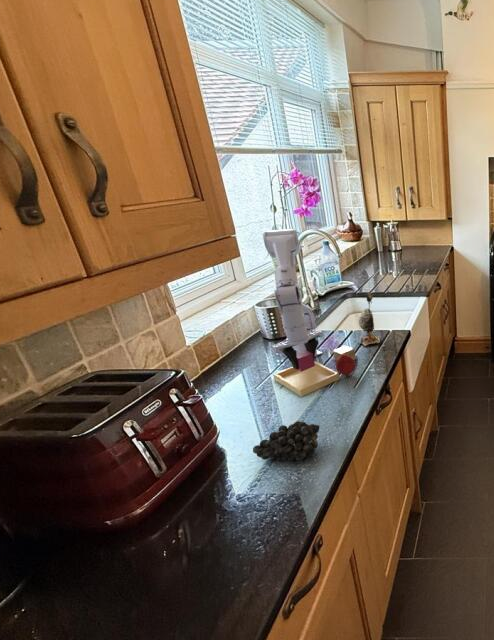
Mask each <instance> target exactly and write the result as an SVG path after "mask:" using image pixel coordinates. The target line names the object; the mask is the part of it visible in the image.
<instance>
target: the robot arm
mask: <svg viewBox="0 0 494 640" xmlns="http://www.w3.org/2000/svg"><path fill="white" fill-rule="evenodd" d="M262 239H263V243H264V247H265V249H266V250H267V253H268V255H269V256H270V257H271V258H275V259H276V263H277V267H276V268H275V269H274V280H275V286H276V289H274V299H275V302H276V305H277V307H278V310H279V313H280V314H281V321H282V322H281V323H282V327H283V331H284V333H285V336H286V339H284V340H283V341H280V342H278V343H276V344H273V345H271V346H272V350H273V353H275V354H279V353H281V352H282V353H283V354H284V356H286V357H287V359H288V360H289V362H290V364H291V365H292V367H293V368H295V369H299V366H298V361H297V352H300V351H303V350H307V351H309V352H311V353H312V354H313V359H314V360H315V358H316V357H318V356H320V355H322V354H323V352H322V351H320V350H318V345H319V340H317V339H318V338H319V339H320V338H323V337H324V334H323V331H322V330H320V329H317V330H316V328H317V325H316V320H315V316H314V312H313V308H311V307H310V306H308V305H307V304H304V303H303V298H302V293H301V292H302V291H301V288H300V286H299V281H298V274H297V269H296V265H295V260H296V259H295V258H296V256H297V255H299V254H300V253H301V247H300V240H299V235H298V230H297V229H295V228H287V229H275V230H264V231H263V232H262Z"/></svg>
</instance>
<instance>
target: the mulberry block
mask: <svg viewBox="0 0 494 640" xmlns="http://www.w3.org/2000/svg"><path fill="white" fill-rule="evenodd" d="M297 361H298V366H299V369H297V370H299V371H301V372H302V371H304V370H307V369H309V368H311V367H314V366H315V363H314V361H315V359H313V354H312V353H311V352H309V351H307V350H303V351H300V352H297Z"/></svg>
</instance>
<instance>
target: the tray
mask: <svg viewBox="0 0 494 640" xmlns="http://www.w3.org/2000/svg"><path fill="white" fill-rule="evenodd" d="M314 363H315V366H314V367H311V368H309V369H307V370H304V371H302V372H301V371H299V370H297V369H295V368H293V366H291V367H288V368H285V369H283V370H281V371H277V372H275V373H273V379H274V381H276V382H277V383H279V384H280V385H282V386H283V387H286V388H287V389H288V390H290V391H292V392H293V393H294V394H297V395H298V396H300V397H304V396H305V395H308V394H311V393H312V392H315V391H317V390H319V389H321V388H324V387H326V386H327V385H330V384H332V383H334V382H336V381H338V380H340V378H341V377H340V373H339V372H338V371H335V370H334V369H332V368H330V367H327V366H325V365H324V364H322V363H320V362H318V361H315V360H314Z"/></svg>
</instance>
